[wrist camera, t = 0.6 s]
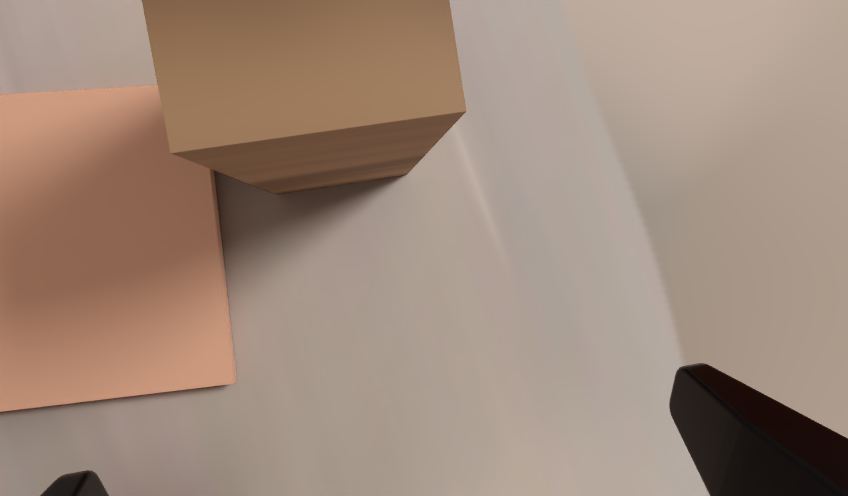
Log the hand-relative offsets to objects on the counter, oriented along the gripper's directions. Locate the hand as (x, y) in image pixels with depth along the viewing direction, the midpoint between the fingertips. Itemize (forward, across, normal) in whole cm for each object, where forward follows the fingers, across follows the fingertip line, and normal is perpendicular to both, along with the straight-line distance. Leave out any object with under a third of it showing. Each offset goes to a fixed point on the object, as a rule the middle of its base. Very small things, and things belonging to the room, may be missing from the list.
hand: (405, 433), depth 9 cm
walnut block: (+15, +1, 0) cm, 15 cm away
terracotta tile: (+14, +11, +3) cm, 17 cm away
